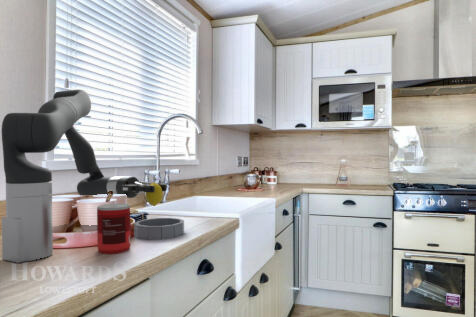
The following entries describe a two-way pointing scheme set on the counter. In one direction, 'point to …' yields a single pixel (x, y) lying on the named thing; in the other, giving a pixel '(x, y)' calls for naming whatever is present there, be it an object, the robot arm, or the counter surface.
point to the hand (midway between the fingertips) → (159, 188)
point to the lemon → (154, 195)
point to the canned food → (113, 228)
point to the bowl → (159, 228)
